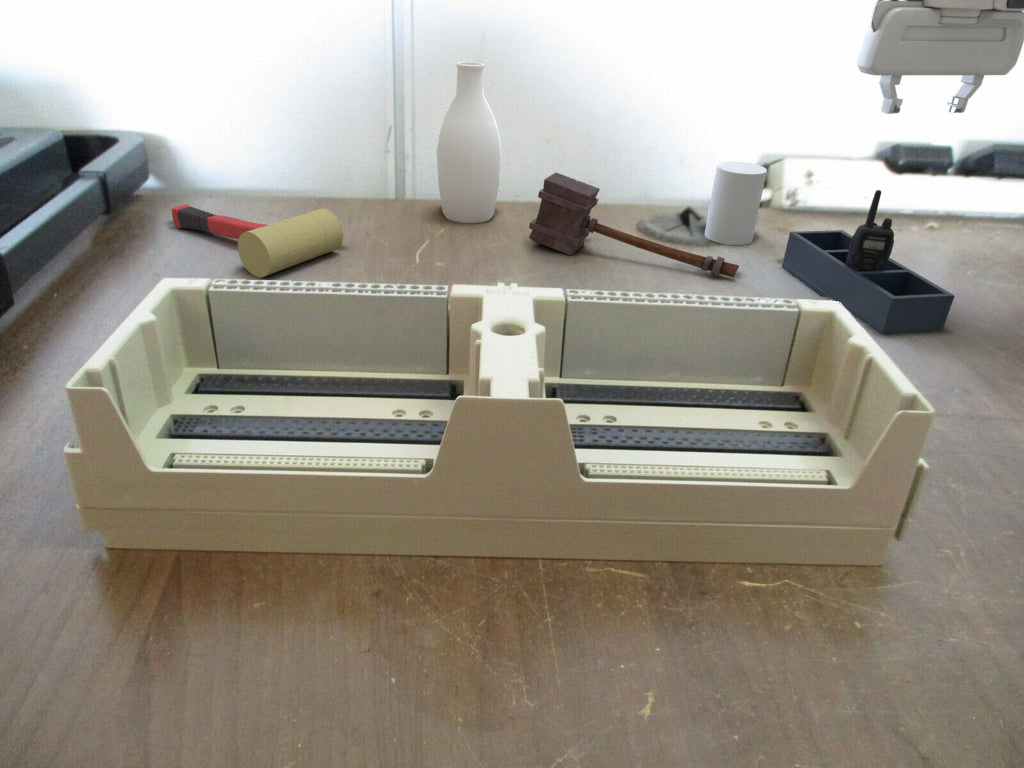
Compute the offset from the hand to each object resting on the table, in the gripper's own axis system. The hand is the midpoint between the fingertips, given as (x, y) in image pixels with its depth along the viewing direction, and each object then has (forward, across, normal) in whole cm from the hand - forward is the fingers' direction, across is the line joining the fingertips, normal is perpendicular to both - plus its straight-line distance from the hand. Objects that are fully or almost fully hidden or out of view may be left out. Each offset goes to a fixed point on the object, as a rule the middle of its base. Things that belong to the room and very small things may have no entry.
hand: (922, 112), depth 98 cm
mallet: (+25, -90, +31) cm, 98 cm away
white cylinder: (+26, -9, +28) cm, 39 cm away
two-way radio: (+25, -2, +1) cm, 25 cm away
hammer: (+26, -30, +19) cm, 44 cm away
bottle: (+25, -52, +43) cm, 72 cm away
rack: (+26, -2, +1) cm, 26 cm away
